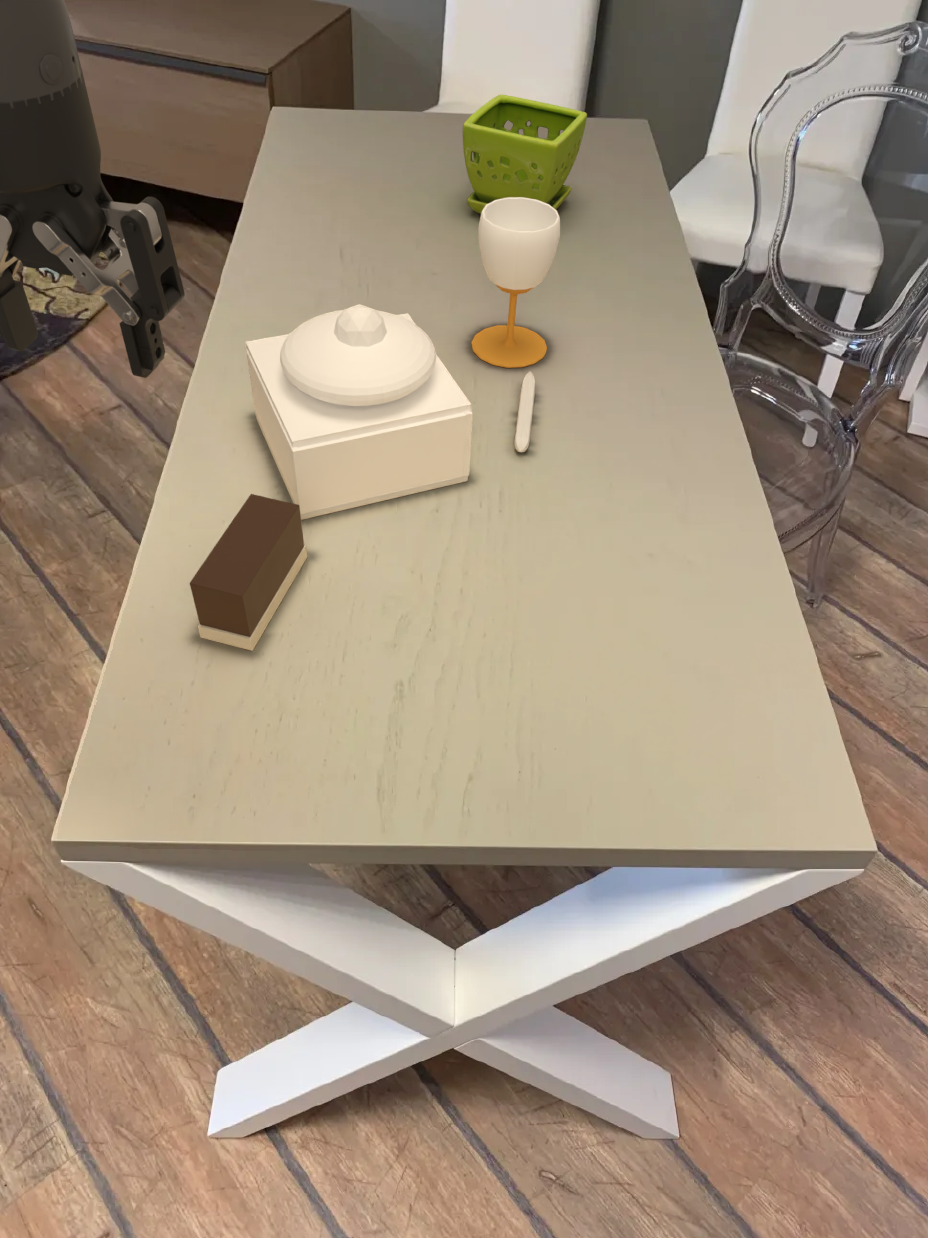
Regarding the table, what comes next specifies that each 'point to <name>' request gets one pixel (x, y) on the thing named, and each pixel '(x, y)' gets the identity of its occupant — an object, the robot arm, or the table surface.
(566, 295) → the table surface
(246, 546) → the brown block cream base
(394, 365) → the white lidded box
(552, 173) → the flower pot
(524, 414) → the cream rounded rod
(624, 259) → the table surface
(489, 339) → the cup
